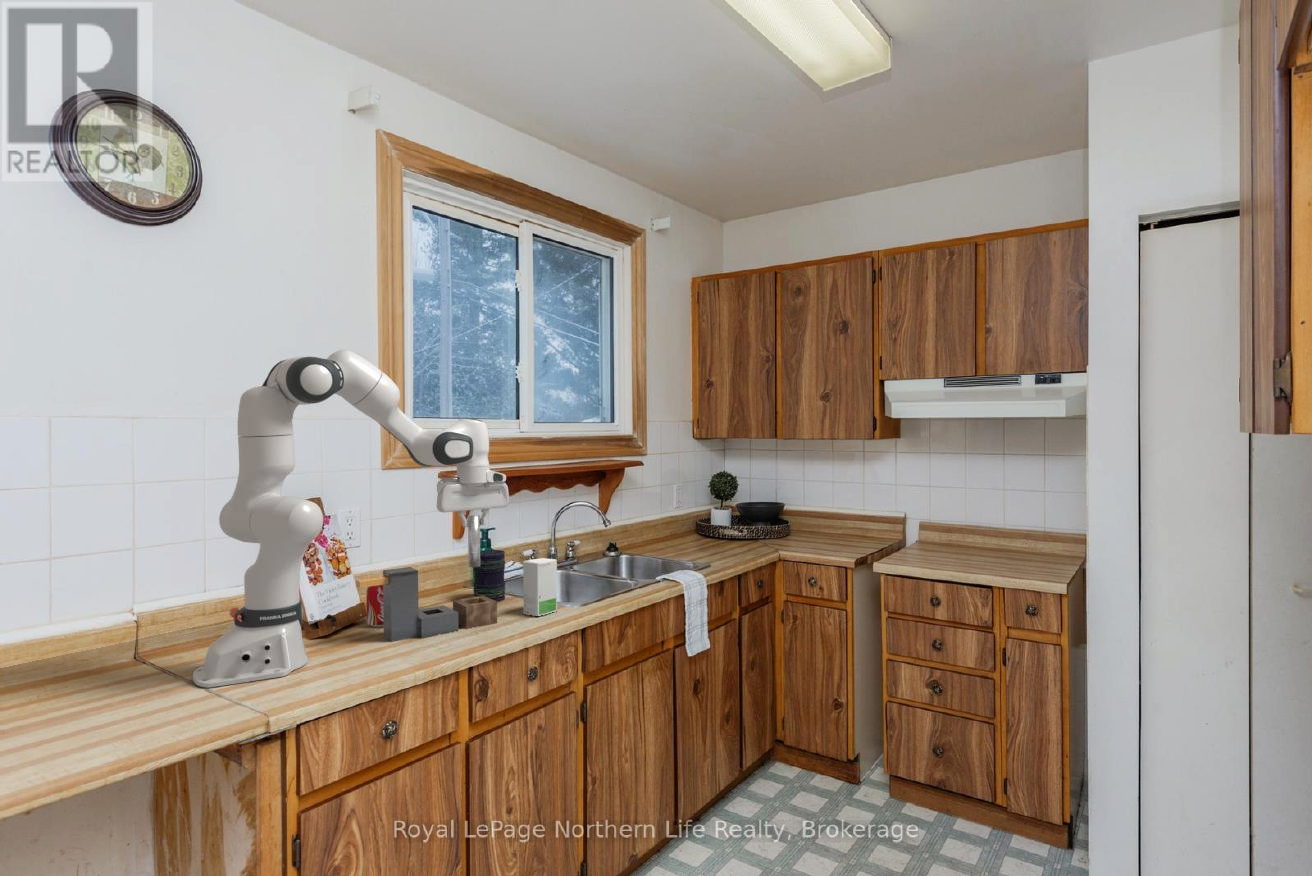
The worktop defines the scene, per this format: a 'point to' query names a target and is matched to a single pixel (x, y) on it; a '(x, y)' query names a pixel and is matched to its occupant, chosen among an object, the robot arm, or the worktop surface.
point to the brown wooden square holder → (475, 611)
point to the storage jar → (490, 575)
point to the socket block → (412, 609)
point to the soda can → (375, 606)
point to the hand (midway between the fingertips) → (473, 526)
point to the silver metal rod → (474, 541)
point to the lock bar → (372, 582)
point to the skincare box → (539, 586)
